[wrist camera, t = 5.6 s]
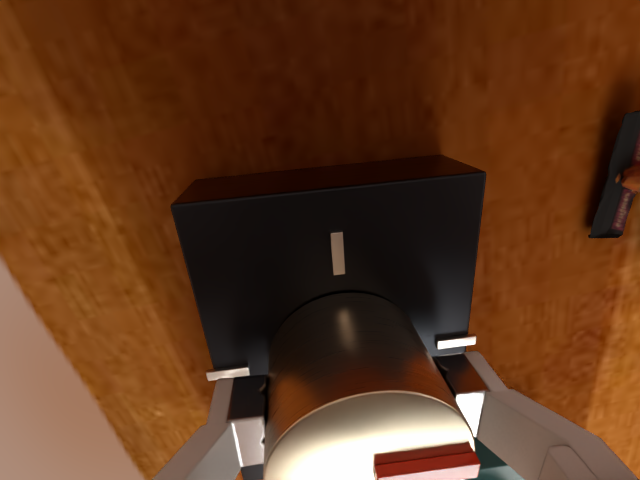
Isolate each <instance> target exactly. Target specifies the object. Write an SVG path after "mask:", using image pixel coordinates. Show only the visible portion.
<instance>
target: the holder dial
mask: <svg viewBox="0 0 640 480" xmlns="http://www.w3.org/2000/svg"><path fill="white" fill-rule="evenodd" d="M266 407H267V410H266V429H265V445H264V466H263V480H465V479H471V478H477V477H478V474H479V469H480V464H481V463H480V461H479V459H478V457H477V455H476V453H475V439H474V435H473V431H472V429H471V427H470V425H469V423H468V421H467V419H466V418H465V416H464V414H463V412H462V411H461V409H460V407H459V405H458V403H457V402H456V400H455V398H454V396H453V395H452V393H451V391H450V389H449V388H448V386H447V384H446V382H445V380H444V379H443V377H442V375H441V373H440V372H439V370H438V368H437V366H436V365H435V363H434V361H433V359H432V358H431V356H430V354H429V352H428V350H427V349H426V347H425V345H424V343H423V342H422V340H421V338H420V336H419V335H418V333H417V331H416V329H415V327H414V326H413V324H412V322H411V320H410V319H409V318H408V316H407V315H406V314H405V313H404V312H403V311H402V310H401V309H400V308H399V307H397V306H396V305H394V304H393V303H391V302H389V301H387V300H385V299H383V298H380V297H377V296H374V295H370V294H365V293H354V292H353V293H339V294H333V295H329V296H325V297H322V298H319V299H316V300H314V301H312V302H310V303H308V304H306V305H304V306H302V307H301V308H300V309H298V310H297V311H295V312H294V313H293V314H292V315H291V316H289V317H288V318H287V319H286V320H285V322H284V323H283V324H282V325H281V326H280V328H279V329H278V331H277V332H276V334H275V336H274V338H273V341H272V343H271V347H270V351H269V362H268V389H267V404H266Z"/></svg>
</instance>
